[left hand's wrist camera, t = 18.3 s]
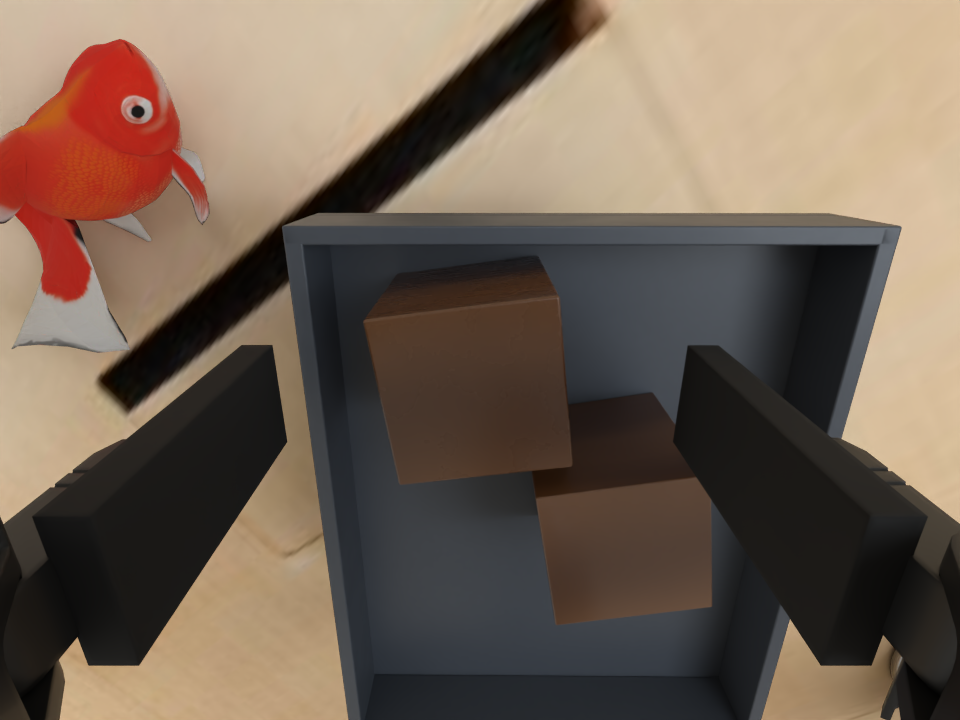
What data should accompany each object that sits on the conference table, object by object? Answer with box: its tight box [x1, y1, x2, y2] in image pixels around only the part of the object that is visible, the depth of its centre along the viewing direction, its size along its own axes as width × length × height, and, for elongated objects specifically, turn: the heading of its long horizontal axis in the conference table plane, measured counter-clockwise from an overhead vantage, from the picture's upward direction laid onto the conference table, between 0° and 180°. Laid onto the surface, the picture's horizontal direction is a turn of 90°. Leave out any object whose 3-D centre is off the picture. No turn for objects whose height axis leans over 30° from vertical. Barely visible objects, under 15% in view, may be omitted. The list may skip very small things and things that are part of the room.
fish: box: [0, 39, 209, 353], centre depth 22 cm, size 11×16×10 cm
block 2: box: [532, 393, 712, 625], centre depth 17 cm, size 4×4×5 cm
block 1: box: [363, 256, 573, 485], centre depth 15 cm, size 4×4×5 cm
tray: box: [282, 213, 901, 720], centre depth 16 cm, size 25×16×10 cm, turn 0°
